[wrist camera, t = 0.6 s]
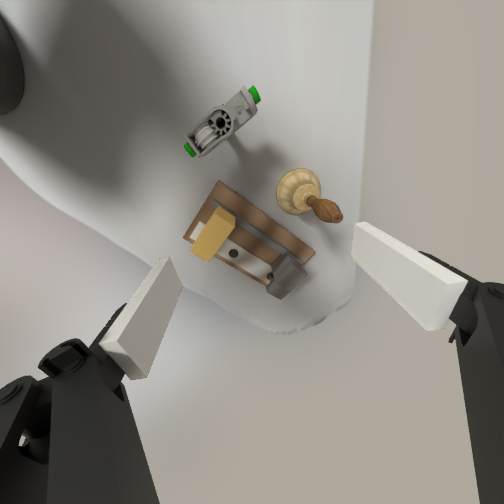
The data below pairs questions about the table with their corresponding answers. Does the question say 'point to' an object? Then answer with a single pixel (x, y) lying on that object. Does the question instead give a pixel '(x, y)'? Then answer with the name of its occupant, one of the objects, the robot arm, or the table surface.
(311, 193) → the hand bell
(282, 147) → the table surface
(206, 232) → the block
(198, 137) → the mechanical component
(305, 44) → the table surface
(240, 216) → the board
